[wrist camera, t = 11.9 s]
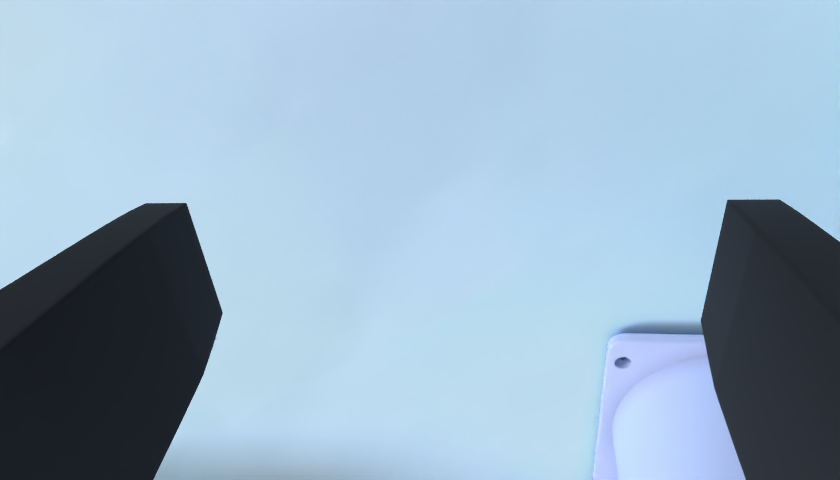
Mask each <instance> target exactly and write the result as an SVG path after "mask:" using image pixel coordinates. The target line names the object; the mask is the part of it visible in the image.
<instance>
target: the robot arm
mask: <svg viewBox="0 0 840 480" xmlns="http://www.w3.org/2000/svg"><path fill="white" fill-rule="evenodd" d="M221 317H222V309H221V306H220V303H219V300H218V297H217V294H216V291H215V288H214V285H213V282H212V279H211V276H210V273H209V270H208V267H207V264H206V261H205V258H204V255H203V252H202V249H201V246H200V243H199V240H198V237H197V234H196V231H195V228H194V225H193V222H192V219H191V216H190V213H189V210H188V207H187V204H186V203H146V204H144V205H142V206H139V207H137V208H135V209H133V210H131V211H129V212H127V213H126V214H124V215H122V216H120V217H118V218H117V219H115V220H113V221H111V222H110V223H108V224H106V225H105V226H103V227H101V228H100V229H98V230H96V231H95V232H93V233H91V234H90V235H88V236H86V237H85V238H83V239H82V240H80V241H78V242H77V243H75V244H74V245H72V246H70V247H69V248H67V249H65V250H64V251H62V252H61V253H59V254H57V255H56V256H54V257H53V258H51V259H49V260H48V261H46V262H44V263H43V264H41V265H40V266H38V267H36V268H35V269H33V270H32V271H30V272H28V273H27V274H25V275H23V276H22V277H20V278H19V279H17V280H15V281H14V282H12V283H11V284H9V285H7V286H6V287H4V288H2V289H1V290H0V480H153V479H154V477H155V475H156V473H157V471H158V469H159V467H160V464H161V462H162V460H163V458H164V456H165V454H166V452H167V450H168V448H169V446H170V444H171V442H172V440H173V438H174V436H175V434H176V432H177V429H178V427H179V425H180V423H181V421H182V419H183V417H184V415H185V413H186V411H187V408H188V406H189V404H190V402H191V400H192V398H193V396H194V394H195V392H196V389H197V387H198V385H199V383H200V381H201V378H202V376H203V374H204V371H205V368H206V365H207V362H208V359H209V356H210V353H211V350H212V347H213V344H214V341H215V337H216V334H217V330H218V327H219V324H220V320H221ZM701 324H702V330H703V335H691V334H639V333H622V334H617V335H615V336H613V337H612V338H611V339H610V340H609V342H608V344H607V353H606V361H605V370H604V379H603V387H602V396H601V405H600V413H599V422H598V431H597V439H596V448H595V457H594V465H593V474H592V480H840V242H839V241H838V240H836V239H835V238H833V237H832V236H831V235H829V234H828V233H827V232H825V231H824V230H823V229H821V228H820V227H818V226H817V225H816V224H814V223H813V222H812V221H810V220H809V219H807V218H806V217H805V216H803V215H802V214H800V213H799V212H798V211H796V210H795V209H793V208H792V207H790V206H789V205H787V204H785V203H784V202H782V201H781V200H727V204H726V209H725V213H724V218H723V223H722V227H721V232H720V236H719V241H718V245H717V250H716V254H715V259H714V263H713V268H712V272H711V277H710V282H709V286H708V291H707V295H706V300H705V304H704V309H703V313H702V318H701ZM622 357H626V359H623V360H619V359H618V358H622Z"/></svg>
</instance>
